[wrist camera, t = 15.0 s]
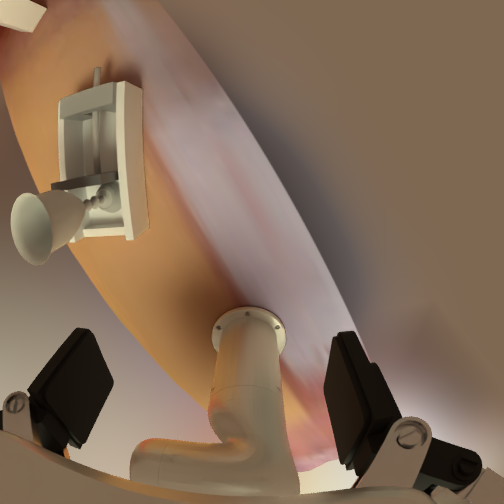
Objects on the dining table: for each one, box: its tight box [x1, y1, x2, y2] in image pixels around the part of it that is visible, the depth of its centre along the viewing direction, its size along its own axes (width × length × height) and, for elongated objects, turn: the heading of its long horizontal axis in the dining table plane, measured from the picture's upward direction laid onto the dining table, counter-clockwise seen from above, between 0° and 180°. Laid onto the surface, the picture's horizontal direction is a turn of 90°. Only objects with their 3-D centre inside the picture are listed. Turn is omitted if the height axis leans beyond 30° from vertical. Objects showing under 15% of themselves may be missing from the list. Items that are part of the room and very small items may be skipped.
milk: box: [0, 0, 47, 32], centre depth 13 cm, size 6×6×22 cm
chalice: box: [11, 181, 122, 266], centre depth 28 cm, size 7×7×18 cm
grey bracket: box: [58, 81, 150, 243], centre depth 32 cm, size 21×11×7 cm, turn 1°
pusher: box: [51, 67, 119, 191], centre depth 28 cm, size 17×8×9 cm, turn 1°
